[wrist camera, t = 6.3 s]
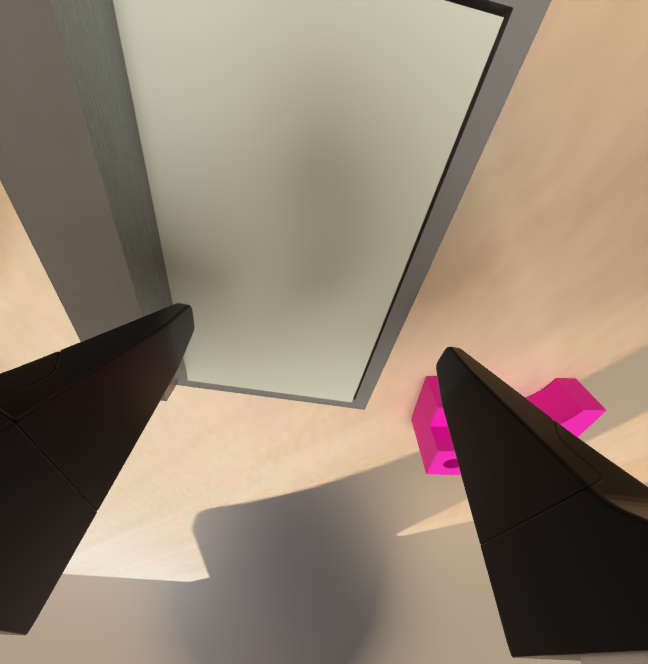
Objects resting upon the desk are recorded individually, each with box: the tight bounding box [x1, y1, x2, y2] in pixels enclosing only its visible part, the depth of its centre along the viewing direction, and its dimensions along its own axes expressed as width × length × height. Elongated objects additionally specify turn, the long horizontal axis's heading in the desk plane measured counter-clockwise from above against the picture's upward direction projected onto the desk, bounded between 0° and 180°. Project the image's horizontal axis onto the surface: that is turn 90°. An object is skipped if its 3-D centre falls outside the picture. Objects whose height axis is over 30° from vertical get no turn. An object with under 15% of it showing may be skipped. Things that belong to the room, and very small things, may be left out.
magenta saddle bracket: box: [412, 377, 606, 475], centre depth 27 cm, size 15×6×8 cm
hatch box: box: [177, 0, 551, 410], centre depth 16 cm, size 14×21×6 cm, turn 170°
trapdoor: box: [0, 0, 504, 402], centre depth 12 cm, size 14×18×3 cm
